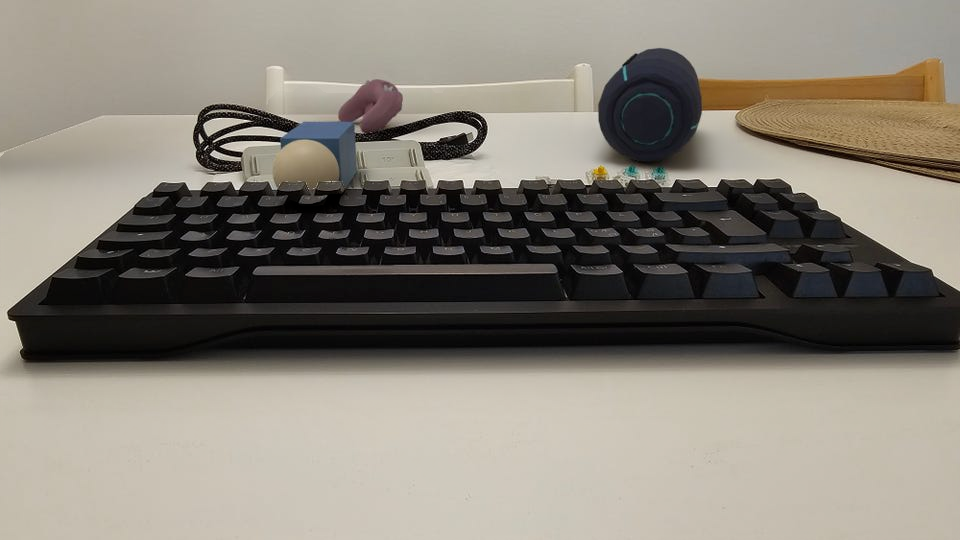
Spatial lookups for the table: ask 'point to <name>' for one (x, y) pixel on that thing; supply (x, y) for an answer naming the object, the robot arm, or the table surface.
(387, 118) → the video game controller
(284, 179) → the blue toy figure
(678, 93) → the portable speaker
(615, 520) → the table surface
